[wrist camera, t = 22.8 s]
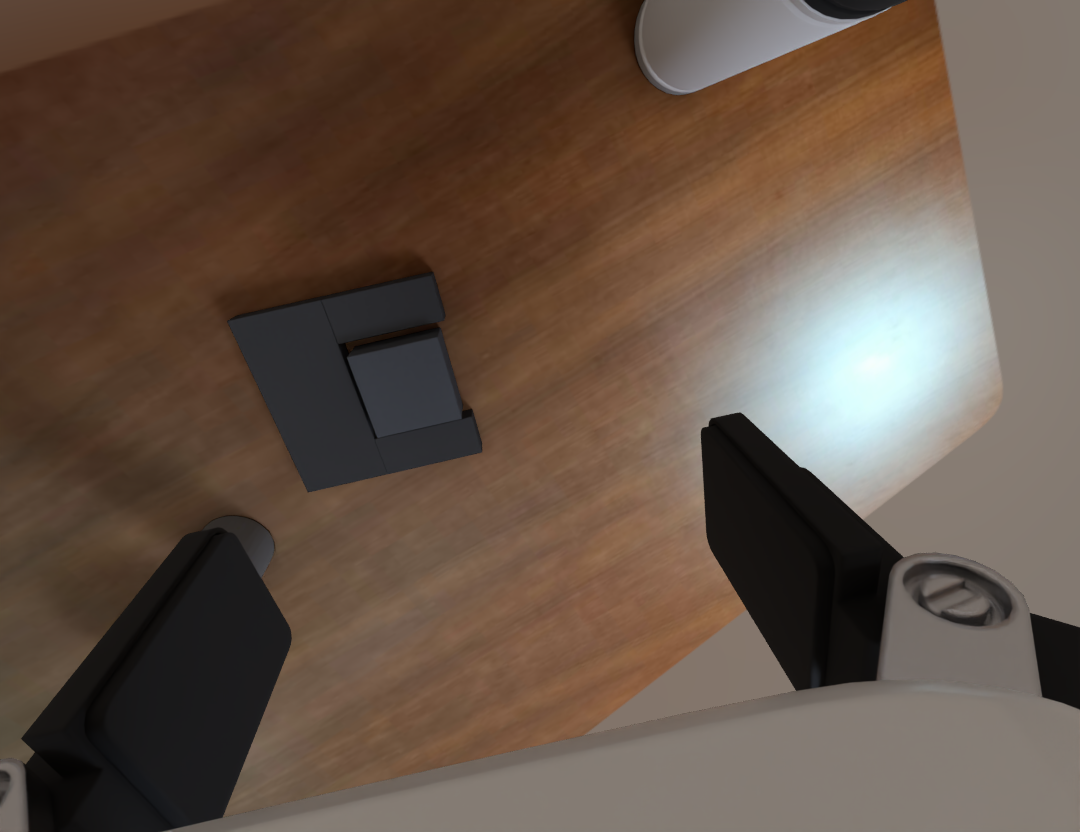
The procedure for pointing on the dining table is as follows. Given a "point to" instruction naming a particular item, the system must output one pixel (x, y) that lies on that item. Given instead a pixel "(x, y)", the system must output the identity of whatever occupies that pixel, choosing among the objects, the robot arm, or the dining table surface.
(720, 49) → the travel mug
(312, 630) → the dining table surface
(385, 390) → the grey block
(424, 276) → the dark grey notched block
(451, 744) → the dining table surface
